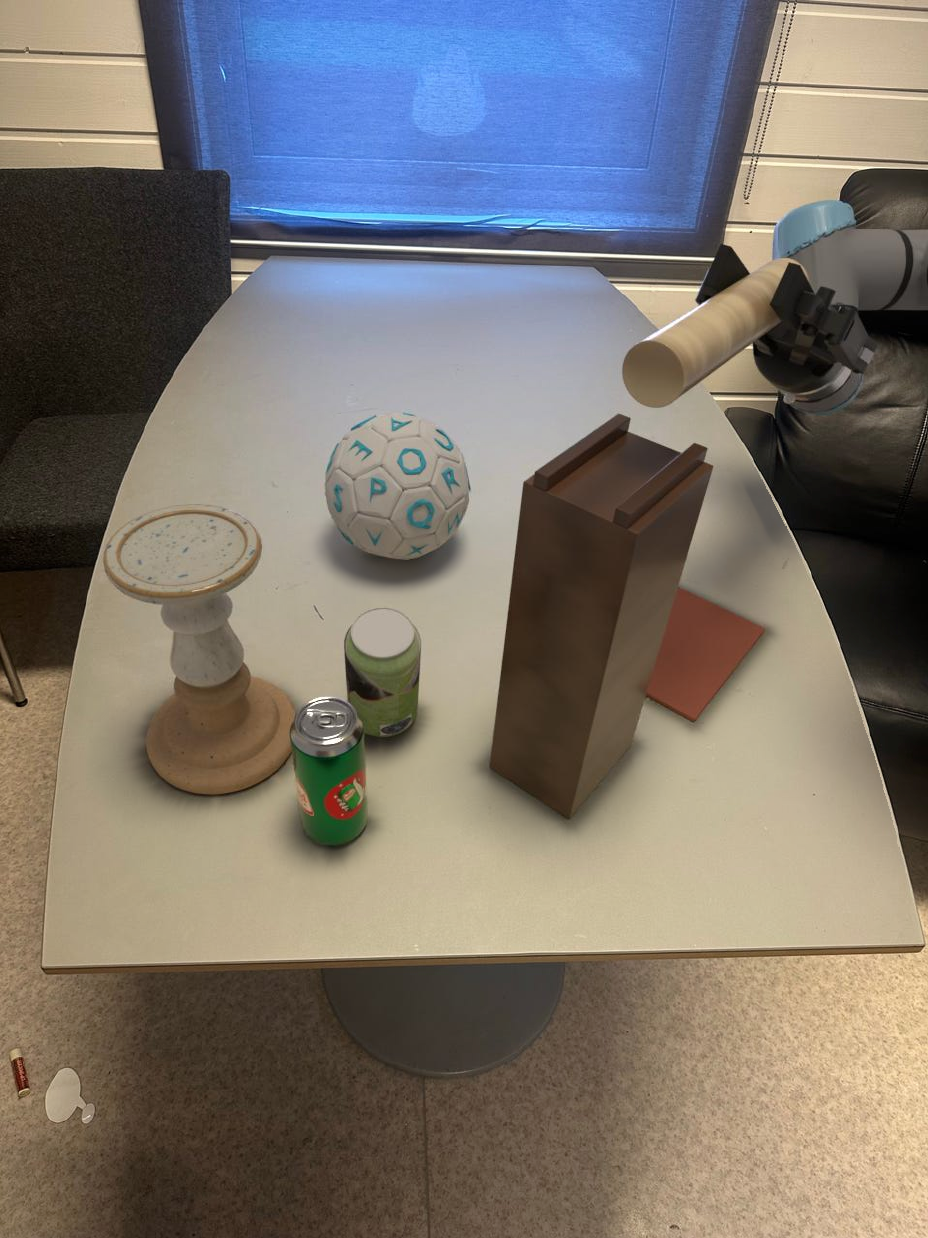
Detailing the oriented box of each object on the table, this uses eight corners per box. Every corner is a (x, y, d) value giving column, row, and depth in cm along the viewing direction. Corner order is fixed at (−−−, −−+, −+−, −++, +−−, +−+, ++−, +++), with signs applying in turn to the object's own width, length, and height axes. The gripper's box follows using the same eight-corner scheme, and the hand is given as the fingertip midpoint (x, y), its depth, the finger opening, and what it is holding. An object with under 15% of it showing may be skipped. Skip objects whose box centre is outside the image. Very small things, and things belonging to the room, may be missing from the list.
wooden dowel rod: (748, 306, 62) (764, 251, 60) (799, 321, 61) (817, 265, 58) (616, 395, 50) (628, 331, 48) (675, 417, 49) (691, 352, 46)
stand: (631, 745, 71) (718, 451, 52) (569, 820, 65) (641, 519, 46) (554, 700, 75) (609, 408, 56) (488, 767, 69) (524, 466, 49)
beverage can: (407, 684, 75) (408, 583, 67) (430, 745, 70) (434, 644, 62) (339, 698, 74) (332, 596, 66) (357, 761, 69) (352, 659, 60)
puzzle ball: (306, 570, 87) (295, 444, 77) (358, 495, 98) (354, 376, 88) (444, 601, 84) (451, 475, 74) (481, 520, 95) (491, 401, 85)
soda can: (303, 796, 66) (289, 693, 58) (367, 792, 66) (362, 690, 58) (300, 852, 62) (286, 750, 54) (368, 847, 63) (363, 746, 55)
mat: (764, 631, 83) (765, 628, 83) (693, 722, 74) (694, 719, 74) (659, 580, 89) (660, 577, 88) (580, 659, 79) (581, 656, 79)
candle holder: (306, 685, 75) (286, 497, 61) (288, 798, 65) (259, 607, 52) (168, 682, 74) (117, 492, 61) (130, 795, 65) (59, 601, 51)
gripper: (879, 424, 71) (852, 372, 51) (699, 362, 79) (613, 296, 58) (922, 338, 69) (912, 249, 49) (734, 283, 77) (658, 186, 56)
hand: (750, 275), depth 54 cm, fingers closed on wooden dowel rod, 4 cm apart
